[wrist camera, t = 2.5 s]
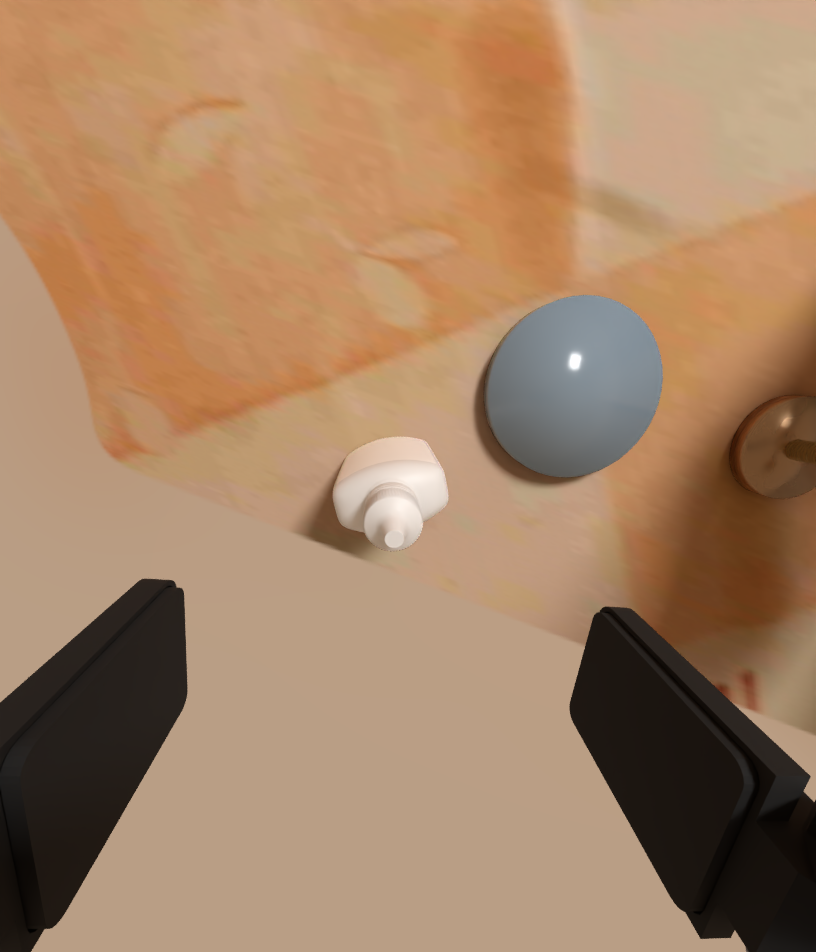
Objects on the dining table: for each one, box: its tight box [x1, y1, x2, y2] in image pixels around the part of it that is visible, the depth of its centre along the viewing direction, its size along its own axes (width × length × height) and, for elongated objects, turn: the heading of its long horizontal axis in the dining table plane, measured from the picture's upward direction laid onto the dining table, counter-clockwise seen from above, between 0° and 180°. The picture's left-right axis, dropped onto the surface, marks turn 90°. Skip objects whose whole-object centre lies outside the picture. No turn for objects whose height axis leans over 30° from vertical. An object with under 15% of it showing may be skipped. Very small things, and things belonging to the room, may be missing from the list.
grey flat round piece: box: [484, 295, 663, 477], centre depth 24 cm, size 11×11×1 cm
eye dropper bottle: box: [333, 437, 449, 551], centre depth 20 cm, size 4×6×12 cm
